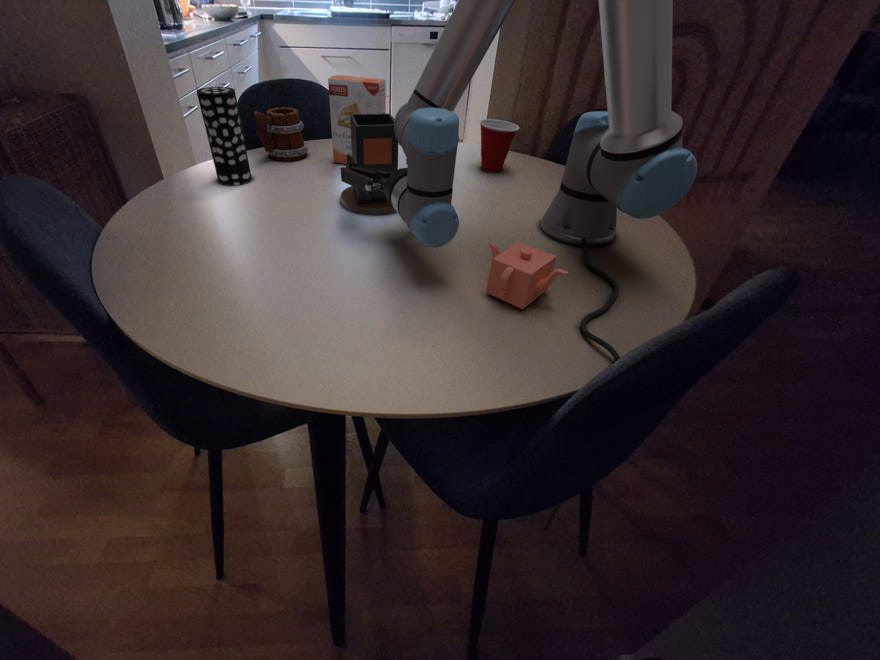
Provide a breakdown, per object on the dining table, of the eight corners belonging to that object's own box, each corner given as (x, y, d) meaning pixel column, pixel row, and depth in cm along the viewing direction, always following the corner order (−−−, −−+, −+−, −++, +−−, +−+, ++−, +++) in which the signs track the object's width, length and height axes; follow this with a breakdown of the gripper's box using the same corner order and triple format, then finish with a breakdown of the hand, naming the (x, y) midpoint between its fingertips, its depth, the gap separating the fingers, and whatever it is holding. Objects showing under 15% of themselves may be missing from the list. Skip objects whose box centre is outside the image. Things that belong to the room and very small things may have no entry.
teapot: (537, 327, 68) (551, 281, 63) (460, 290, 76) (467, 246, 70) (571, 297, 75) (586, 253, 69) (498, 266, 82) (506, 224, 77)
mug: (319, 153, 130) (307, 98, 118) (283, 174, 123) (267, 117, 112) (293, 145, 135) (279, 92, 124) (257, 164, 128) (239, 109, 117)
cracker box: (332, 163, 124) (326, 77, 110) (341, 157, 129) (335, 73, 115) (379, 169, 121) (378, 82, 108) (385, 163, 126) (386, 78, 112)
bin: (389, 185, 108) (390, 113, 97) (397, 201, 100) (399, 125, 90) (353, 187, 106) (350, 114, 96) (358, 203, 99) (355, 126, 88)
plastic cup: (514, 176, 120) (523, 128, 112) (475, 175, 120) (482, 127, 112) (507, 163, 128) (516, 118, 120) (471, 162, 128) (477, 117, 120)
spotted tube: (253, 183, 111) (236, 93, 98) (219, 186, 109) (197, 94, 95) (249, 172, 117) (232, 86, 103) (217, 175, 114) (195, 87, 101)
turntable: (410, 215, 99) (410, 208, 98) (339, 215, 98) (339, 208, 97) (405, 189, 111) (405, 182, 110) (342, 188, 110) (342, 182, 109)
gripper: (344, 221, 80) (324, 181, 95) (468, 208, 86) (430, 172, 101) (342, 179, 75) (320, 144, 90) (473, 168, 81) (433, 137, 96)
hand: (378, 159), depth 96 cm, fingers open, 13 cm apart
